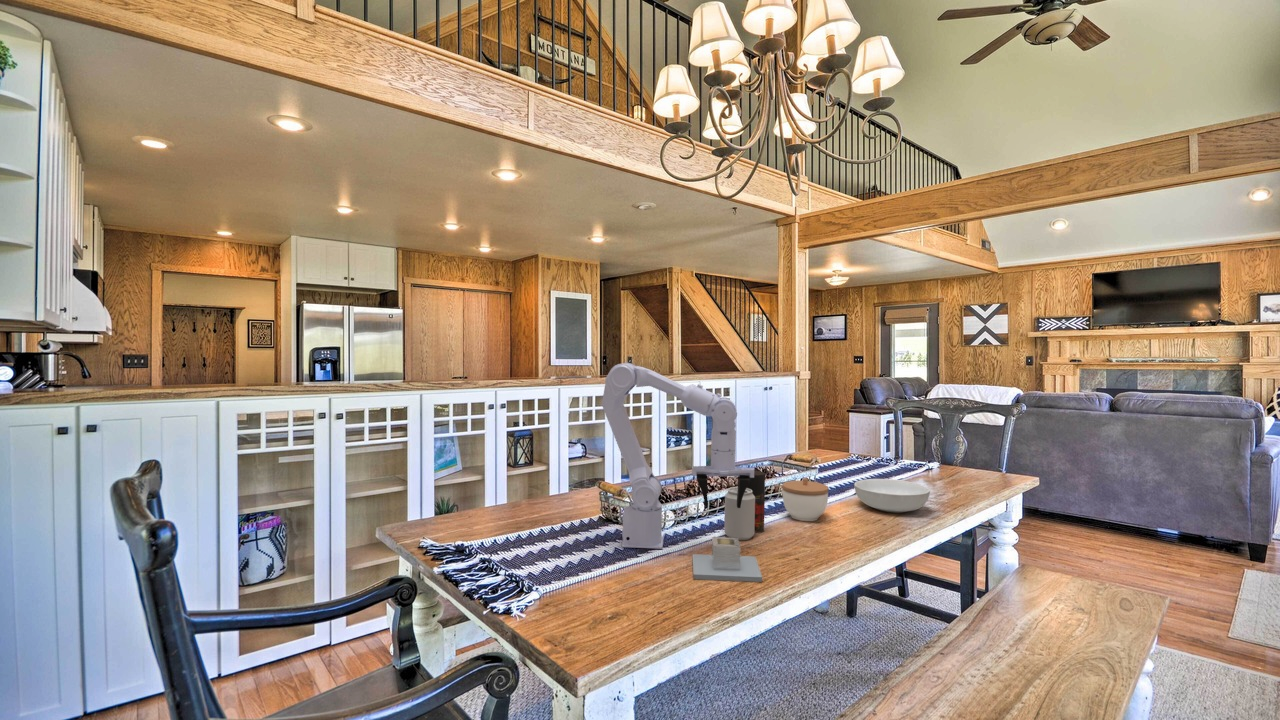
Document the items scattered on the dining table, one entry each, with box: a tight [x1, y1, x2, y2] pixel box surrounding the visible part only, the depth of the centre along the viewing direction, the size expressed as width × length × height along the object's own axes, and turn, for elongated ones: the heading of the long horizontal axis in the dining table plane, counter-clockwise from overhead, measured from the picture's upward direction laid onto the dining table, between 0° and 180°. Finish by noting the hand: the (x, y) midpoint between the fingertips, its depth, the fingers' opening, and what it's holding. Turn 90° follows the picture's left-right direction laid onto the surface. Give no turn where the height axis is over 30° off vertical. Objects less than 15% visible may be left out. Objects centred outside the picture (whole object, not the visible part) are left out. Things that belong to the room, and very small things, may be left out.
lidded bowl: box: [781, 477, 830, 522], centre depth 168 cm, size 13×13×11 cm
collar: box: [711, 536, 741, 570], centre depth 129 cm, size 6×6×5 cm
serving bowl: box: [853, 478, 931, 514], centre depth 179 cm, size 21×21×7 cm
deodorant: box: [747, 470, 766, 534], centre depth 157 cm, size 6×6×15 cm
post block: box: [692, 553, 763, 583], centre depth 128 cm, size 14×12×5 cm
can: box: [723, 486, 755, 541], centre depth 151 cm, size 8×8×12 cm
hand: (722, 506), depth 142 cm, fingers open, 7 cm apart
